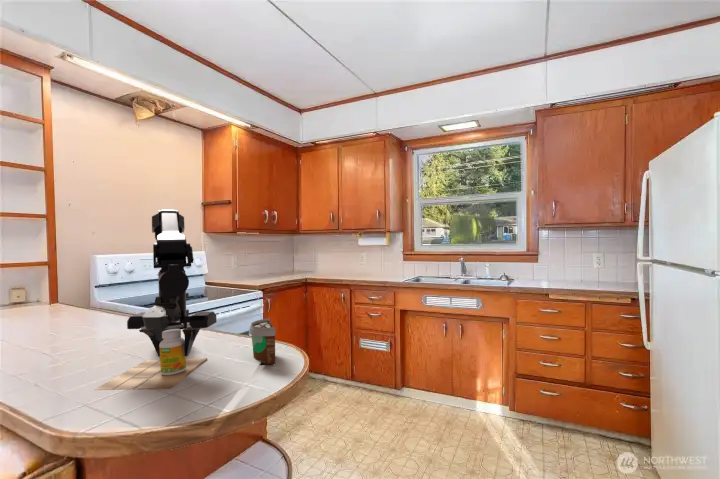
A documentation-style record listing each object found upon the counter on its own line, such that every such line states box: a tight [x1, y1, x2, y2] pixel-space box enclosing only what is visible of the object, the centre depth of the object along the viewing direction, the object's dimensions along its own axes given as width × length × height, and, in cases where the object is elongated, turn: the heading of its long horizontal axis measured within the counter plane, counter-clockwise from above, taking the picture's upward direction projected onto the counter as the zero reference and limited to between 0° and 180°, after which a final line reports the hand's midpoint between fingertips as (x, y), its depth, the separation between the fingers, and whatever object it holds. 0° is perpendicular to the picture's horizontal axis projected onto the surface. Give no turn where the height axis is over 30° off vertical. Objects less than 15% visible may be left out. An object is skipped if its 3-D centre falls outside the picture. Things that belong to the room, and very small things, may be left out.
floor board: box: [93, 359, 161, 391], centre depth 84 cm, size 18×8×1 cm, turn 0°
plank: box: [132, 357, 208, 390], centre depth 84 cm, size 18×8×1 cm, turn 0°
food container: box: [248, 318, 276, 366], centre depth 95 cm, size 12×6×10 cm, turn 21°
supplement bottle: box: [159, 329, 187, 375], centre depth 84 cm, size 5×5×10 cm
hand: (173, 356), depth 84 cm, fingers open, 6 cm apart
